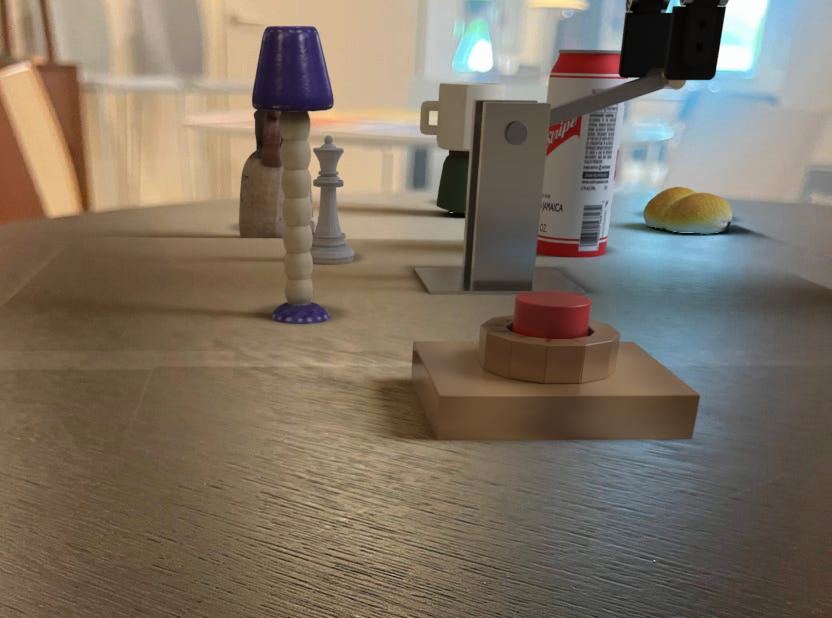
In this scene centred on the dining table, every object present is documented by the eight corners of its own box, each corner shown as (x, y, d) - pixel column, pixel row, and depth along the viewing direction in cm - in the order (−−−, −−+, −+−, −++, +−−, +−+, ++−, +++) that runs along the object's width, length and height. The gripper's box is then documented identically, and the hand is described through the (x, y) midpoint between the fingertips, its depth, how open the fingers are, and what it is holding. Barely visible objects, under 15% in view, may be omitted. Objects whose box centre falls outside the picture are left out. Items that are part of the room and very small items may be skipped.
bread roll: (692, 237, 102) (700, 194, 100) (628, 226, 109) (634, 185, 107) (748, 232, 106) (756, 190, 104) (683, 221, 113) (689, 182, 111)
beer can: (557, 271, 85) (581, 49, 77) (516, 259, 90) (536, 49, 82) (618, 267, 87) (649, 51, 79) (575, 255, 92) (600, 51, 84)
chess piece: (356, 277, 81) (359, 137, 76) (301, 277, 81) (300, 137, 76) (353, 267, 85) (355, 133, 80) (300, 267, 84) (299, 133, 79)
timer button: (576, 327, 51) (580, 290, 50) (595, 344, 48) (600, 306, 47) (505, 327, 51) (508, 290, 50) (520, 344, 48) (524, 306, 47)
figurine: (322, 237, 99) (322, 97, 93) (306, 248, 93) (305, 99, 87) (250, 234, 100) (246, 95, 94) (230, 245, 94) (224, 97, 88)
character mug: (515, 213, 117) (527, 84, 110) (508, 221, 111) (520, 85, 104) (421, 208, 119) (428, 81, 113) (409, 216, 113) (415, 82, 107)
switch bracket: (553, 284, 80) (573, 100, 74) (583, 309, 72) (609, 105, 66) (414, 283, 79) (422, 97, 73) (429, 308, 71) (440, 102, 65)
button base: (627, 381, 56) (639, 306, 54) (692, 441, 47) (708, 354, 45) (410, 382, 55) (414, 306, 53) (436, 442, 47) (441, 354, 45)
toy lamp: (324, 345, 62) (325, 24, 54) (250, 340, 63) (239, 23, 54) (339, 327, 66) (342, 27, 58) (269, 323, 67) (262, 26, 58)
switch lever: (664, 93, 72) (659, 56, 71) (689, 96, 68) (684, 56, 66) (486, 152, 73) (478, 116, 72) (499, 158, 69) (491, 120, 68)
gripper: (838, -291, 53) (770, 81, 62) (714, -214, 68) (673, 77, 77) (698, -294, 53) (649, 81, 61) (604, -216, 68) (575, 76, 76)
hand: (663, 78), depth 69 cm, fingers open, 9 cm apart
